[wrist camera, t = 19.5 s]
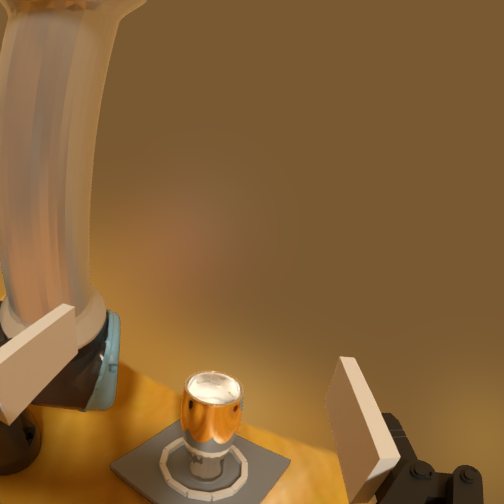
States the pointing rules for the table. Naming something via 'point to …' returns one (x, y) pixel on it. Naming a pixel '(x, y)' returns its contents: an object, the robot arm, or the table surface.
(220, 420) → the beer glass
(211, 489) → the coaster board
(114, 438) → the table surface
